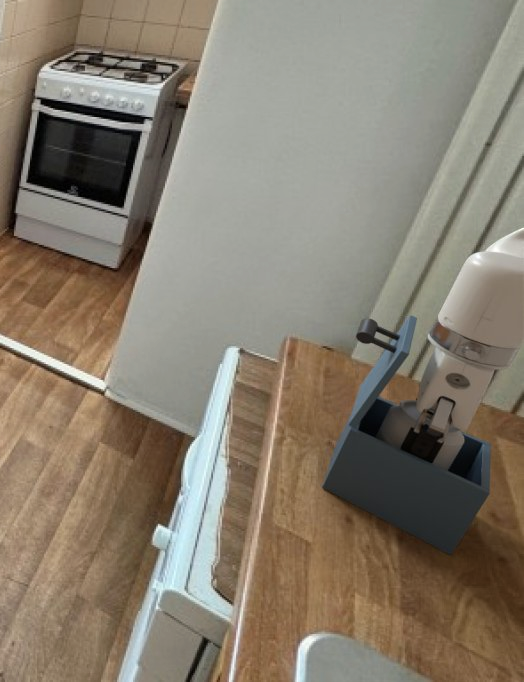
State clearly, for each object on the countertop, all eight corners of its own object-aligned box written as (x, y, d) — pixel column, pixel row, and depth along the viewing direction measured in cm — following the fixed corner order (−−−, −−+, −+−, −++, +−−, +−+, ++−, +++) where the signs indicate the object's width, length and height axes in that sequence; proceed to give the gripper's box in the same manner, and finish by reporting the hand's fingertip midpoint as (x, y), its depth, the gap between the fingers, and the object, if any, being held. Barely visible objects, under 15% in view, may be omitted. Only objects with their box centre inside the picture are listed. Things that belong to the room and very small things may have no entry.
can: (439, 482, 88) (475, 420, 83) (426, 509, 84) (463, 445, 79) (371, 447, 94) (402, 387, 89) (356, 470, 90) (387, 409, 85)
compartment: (455, 502, 89) (491, 443, 85) (450, 555, 82) (489, 493, 77) (335, 445, 98) (362, 389, 94) (321, 487, 91) (350, 429, 87)
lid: (417, 317, 87) (372, 299, 91) (409, 354, 80) (360, 332, 83) (366, 388, 94) (326, 369, 97) (354, 428, 86) (311, 406, 90)
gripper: (515, 388, 72) (452, 494, 78) (514, 328, 82) (459, 425, 89) (426, 355, 77) (374, 457, 83) (436, 302, 87) (389, 396, 94)
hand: (418, 440), depth 86 cm, fingers closed on can, 7 cm apart
